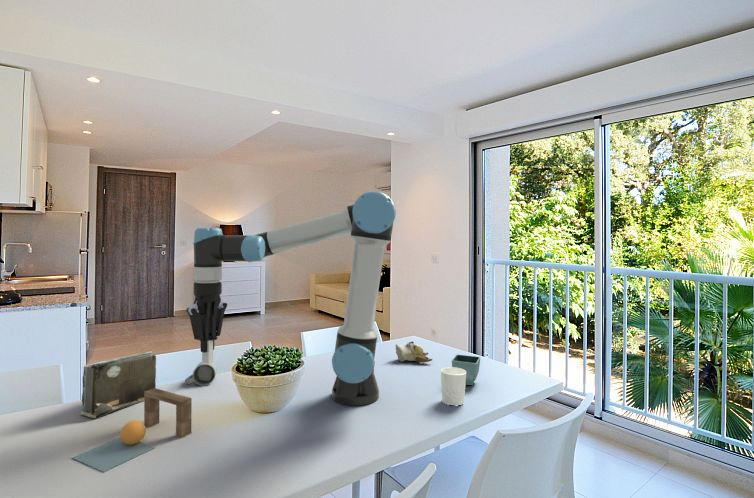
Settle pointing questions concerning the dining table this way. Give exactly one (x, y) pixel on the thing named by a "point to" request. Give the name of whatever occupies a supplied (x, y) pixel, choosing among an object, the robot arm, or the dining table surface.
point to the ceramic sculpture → (411, 353)
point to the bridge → (180, 401)
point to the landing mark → (112, 454)
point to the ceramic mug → (203, 374)
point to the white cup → (453, 385)
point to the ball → (133, 432)
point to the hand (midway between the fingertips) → (207, 362)
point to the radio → (117, 383)
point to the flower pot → (467, 366)
